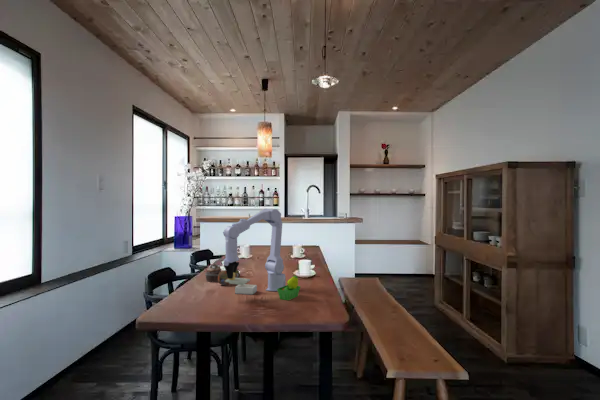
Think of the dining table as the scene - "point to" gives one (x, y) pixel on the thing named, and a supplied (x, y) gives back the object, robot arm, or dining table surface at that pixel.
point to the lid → (237, 280)
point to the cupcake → (213, 273)
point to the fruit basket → (289, 289)
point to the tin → (225, 277)
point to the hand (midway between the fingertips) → (231, 277)
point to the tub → (246, 289)
